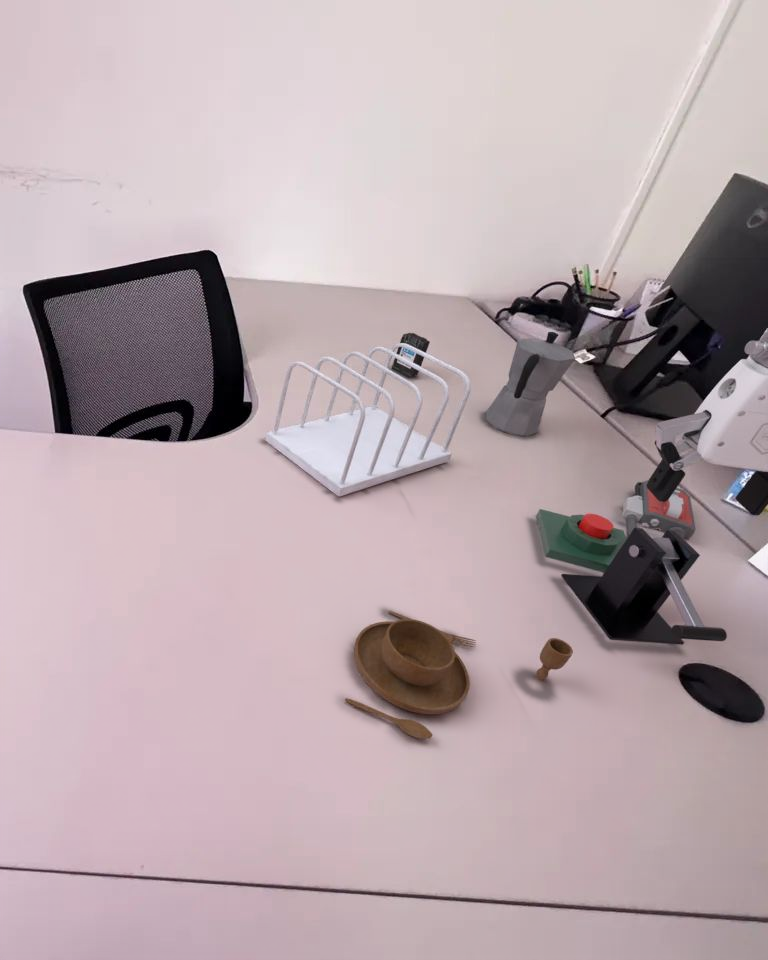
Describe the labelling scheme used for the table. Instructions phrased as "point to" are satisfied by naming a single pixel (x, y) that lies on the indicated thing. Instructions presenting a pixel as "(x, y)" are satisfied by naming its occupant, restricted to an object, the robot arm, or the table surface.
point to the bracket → (633, 589)
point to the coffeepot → (529, 385)
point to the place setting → (424, 668)
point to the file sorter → (363, 430)
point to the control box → (576, 541)
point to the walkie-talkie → (660, 511)
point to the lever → (683, 599)
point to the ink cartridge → (410, 354)
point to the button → (596, 526)
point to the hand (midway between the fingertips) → (700, 501)
